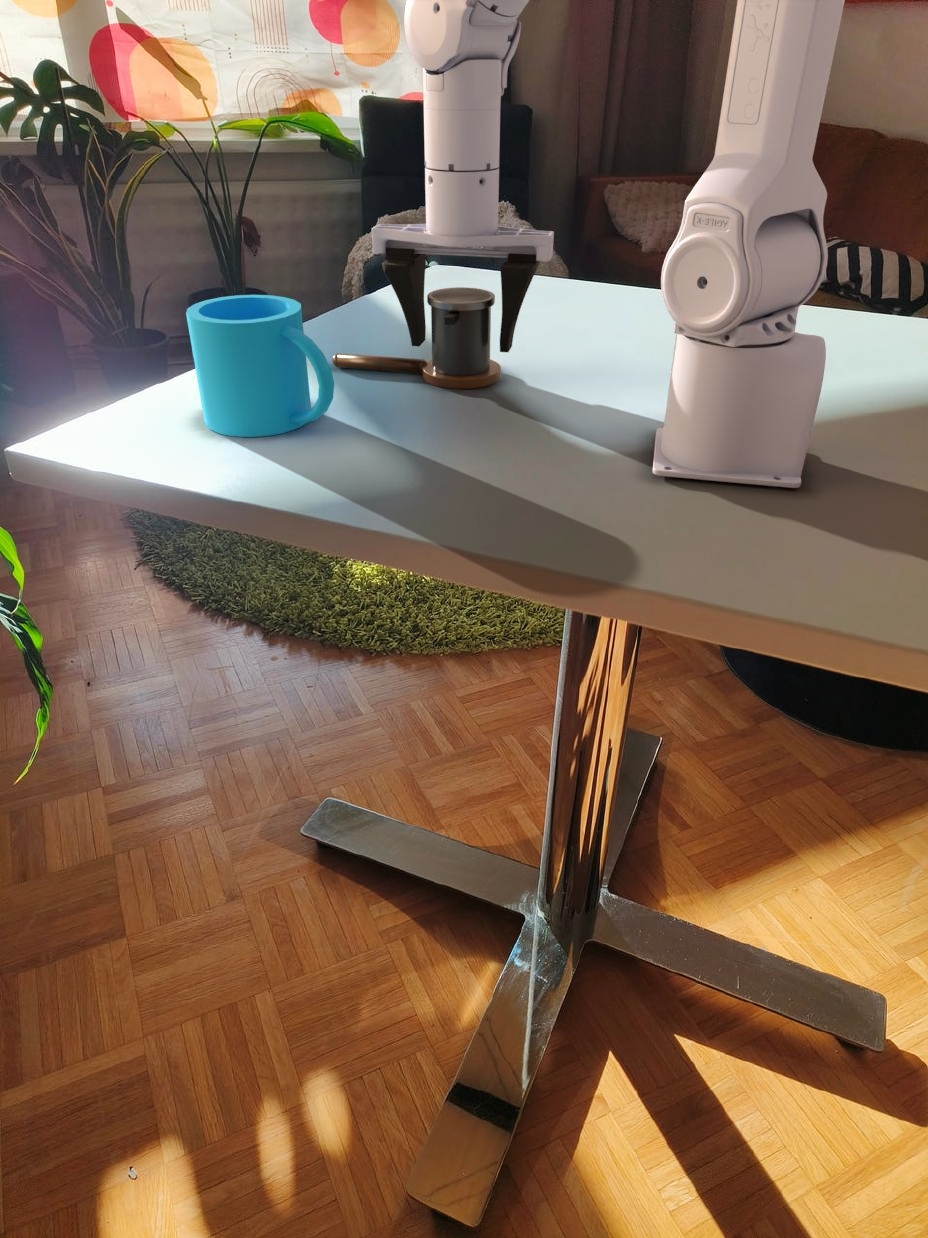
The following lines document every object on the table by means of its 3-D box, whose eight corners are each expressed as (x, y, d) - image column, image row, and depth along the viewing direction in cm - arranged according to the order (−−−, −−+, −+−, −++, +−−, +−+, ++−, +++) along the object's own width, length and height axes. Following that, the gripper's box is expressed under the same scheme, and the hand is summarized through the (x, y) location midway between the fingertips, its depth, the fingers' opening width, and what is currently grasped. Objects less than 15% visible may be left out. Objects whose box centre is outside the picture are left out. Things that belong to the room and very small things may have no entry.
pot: (498, 359, 76) (500, 288, 73) (482, 385, 71) (483, 310, 67) (437, 355, 77) (436, 285, 74) (416, 380, 72) (414, 306, 68)
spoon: (506, 366, 77) (507, 353, 77) (492, 391, 72) (493, 377, 71) (345, 355, 80) (344, 342, 79) (320, 378, 74) (318, 364, 74)
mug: (181, 421, 66) (161, 311, 61) (259, 392, 71) (246, 289, 67) (297, 457, 60) (283, 339, 56) (371, 422, 66) (365, 312, 61)
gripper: (562, 164, 68) (552, 338, 76) (386, 159, 71) (393, 328, 78) (550, 175, 62) (540, 362, 70) (359, 169, 65) (369, 350, 72)
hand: (461, 345), depth 74 cm, fingers open, 7 cm apart
